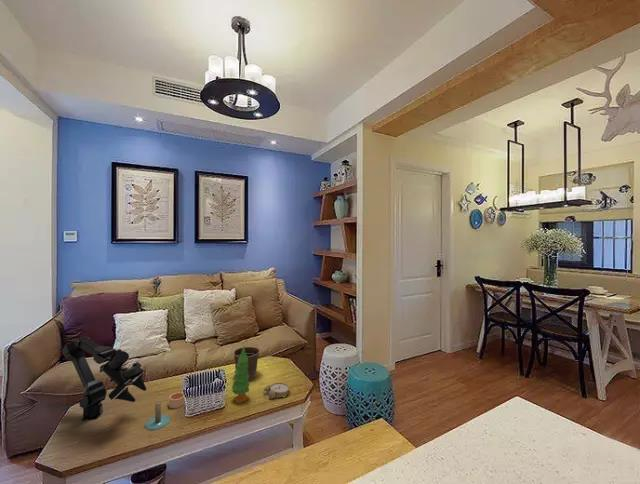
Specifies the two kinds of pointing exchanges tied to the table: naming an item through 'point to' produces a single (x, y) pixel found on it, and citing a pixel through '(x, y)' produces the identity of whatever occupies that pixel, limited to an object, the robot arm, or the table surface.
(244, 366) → the decorative tree
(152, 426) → the teal stand with rod
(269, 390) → the candle holder
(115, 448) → the table surface
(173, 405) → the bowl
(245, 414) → the table surface
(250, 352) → the plant pot
